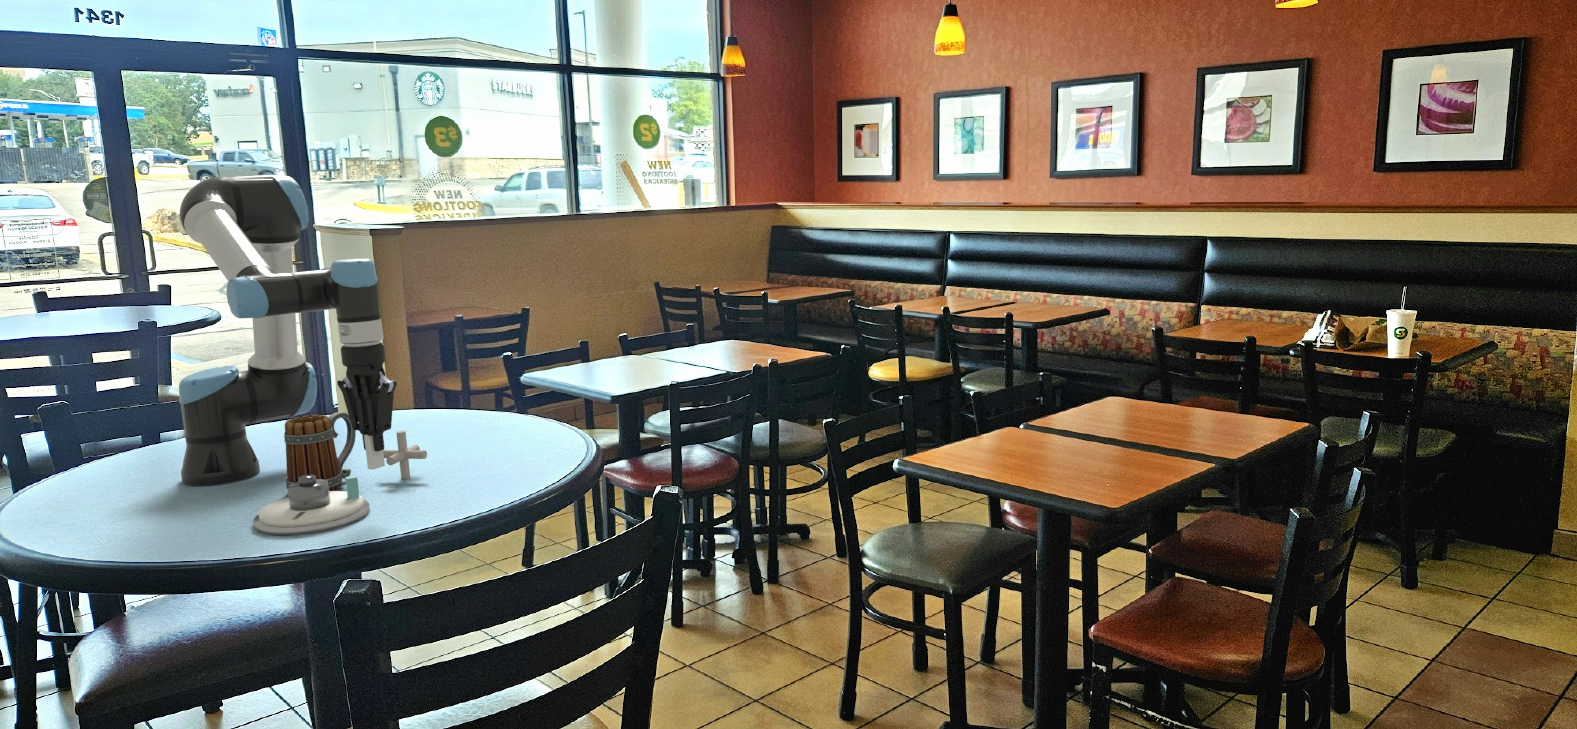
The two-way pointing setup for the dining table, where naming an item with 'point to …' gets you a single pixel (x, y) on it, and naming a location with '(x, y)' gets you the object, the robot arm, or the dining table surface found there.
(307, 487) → the cover
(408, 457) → the pipe connector
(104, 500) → the dining table surface
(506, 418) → the dining table surface
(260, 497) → the dining table surface
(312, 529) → the turntable base
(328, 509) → the turntable
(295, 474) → the mug
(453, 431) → the dining table surface
